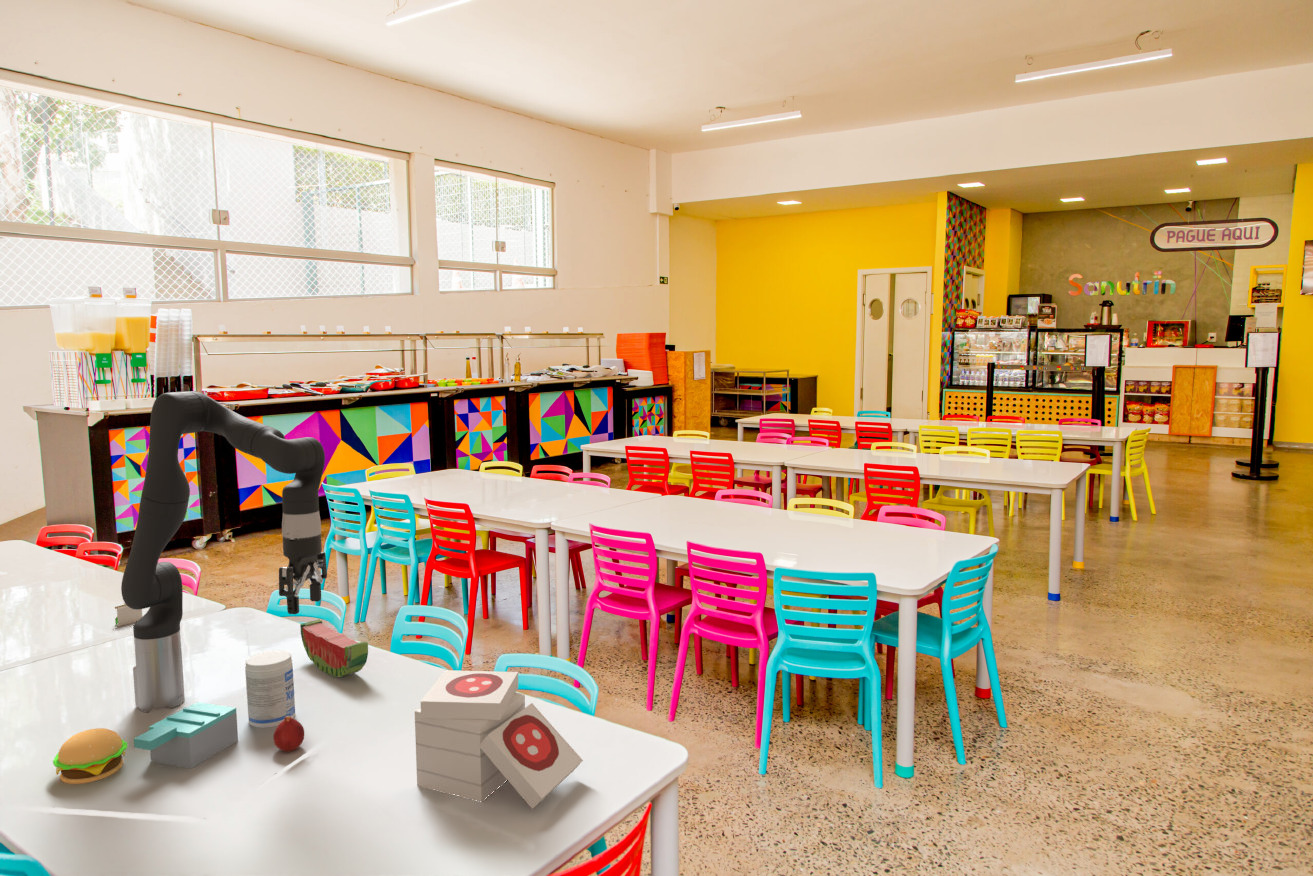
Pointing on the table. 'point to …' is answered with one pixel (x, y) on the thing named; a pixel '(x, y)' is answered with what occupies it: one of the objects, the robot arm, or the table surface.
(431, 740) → the pizza boxes
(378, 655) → the table surface
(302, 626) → the fruit slice
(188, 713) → the lid
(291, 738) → the red round fruit
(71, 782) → the hamburger
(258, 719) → the supplement tub
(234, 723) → the tub
